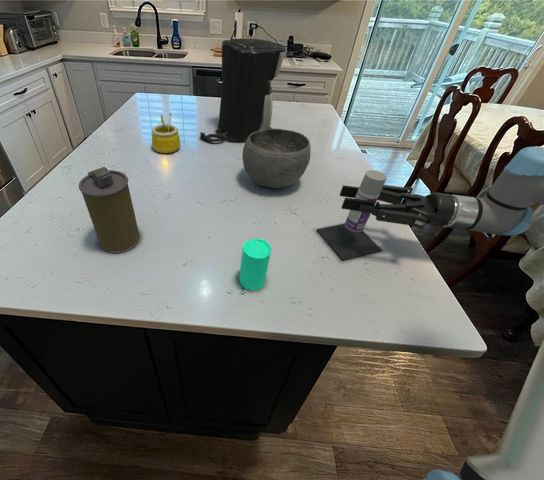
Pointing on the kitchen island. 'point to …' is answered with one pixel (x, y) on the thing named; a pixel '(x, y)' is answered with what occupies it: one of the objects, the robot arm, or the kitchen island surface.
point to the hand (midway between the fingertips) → (342, 196)
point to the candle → (254, 263)
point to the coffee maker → (246, 87)
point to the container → (368, 192)
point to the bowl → (276, 157)
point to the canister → (110, 209)
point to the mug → (165, 137)
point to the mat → (348, 242)
